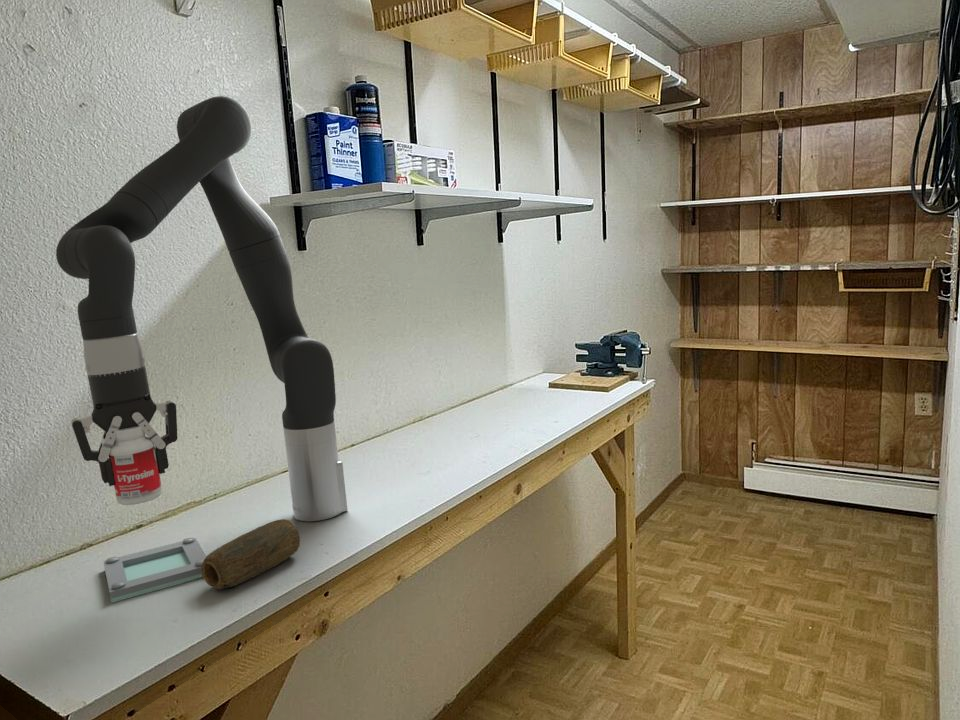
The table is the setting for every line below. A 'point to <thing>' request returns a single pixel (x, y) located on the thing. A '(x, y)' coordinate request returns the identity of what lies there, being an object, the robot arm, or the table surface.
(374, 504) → the table surface
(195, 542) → the base plate
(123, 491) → the pill bottle
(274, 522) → the brown textured cylinder
